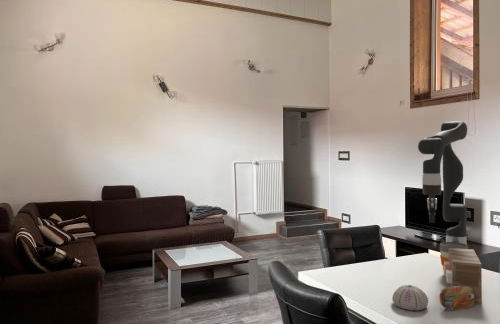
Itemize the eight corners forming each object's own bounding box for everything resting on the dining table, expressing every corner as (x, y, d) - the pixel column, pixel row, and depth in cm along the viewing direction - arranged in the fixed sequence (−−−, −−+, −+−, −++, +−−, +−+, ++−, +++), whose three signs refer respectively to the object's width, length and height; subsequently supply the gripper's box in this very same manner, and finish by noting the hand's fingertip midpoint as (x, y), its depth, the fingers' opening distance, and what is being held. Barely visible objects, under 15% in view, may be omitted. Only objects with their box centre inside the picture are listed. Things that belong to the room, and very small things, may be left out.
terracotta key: (444, 269, 178) (444, 261, 178) (461, 271, 176) (461, 262, 176) (445, 273, 174) (445, 264, 174) (462, 274, 171) (462, 265, 171)
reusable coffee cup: (461, 271, 195) (461, 241, 194) (473, 279, 182) (473, 247, 182) (435, 271, 196) (435, 241, 196) (445, 279, 183) (445, 247, 183)
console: (448, 282, 179) (448, 247, 179) (473, 284, 175) (473, 249, 175) (453, 301, 157) (452, 261, 157) (481, 304, 153) (481, 263, 153)
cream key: (446, 279, 166) (446, 269, 166) (465, 281, 163) (464, 271, 163) (447, 283, 161) (447, 273, 161) (466, 284, 158) (466, 275, 158)
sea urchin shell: (418, 316, 144) (417, 294, 144) (385, 305, 154) (384, 285, 154) (434, 306, 152) (434, 286, 152) (402, 297, 163) (402, 278, 163)
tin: (444, 312, 147) (444, 289, 147) (438, 308, 150) (438, 287, 150) (476, 307, 151) (476, 285, 151) (470, 304, 154) (469, 282, 154)
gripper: (442, 184, 164) (442, 225, 165) (440, 182, 176) (440, 220, 177) (422, 184, 167) (423, 224, 168) (422, 182, 179) (422, 219, 180)
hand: (432, 222), depth 172 cm, fingers closed
